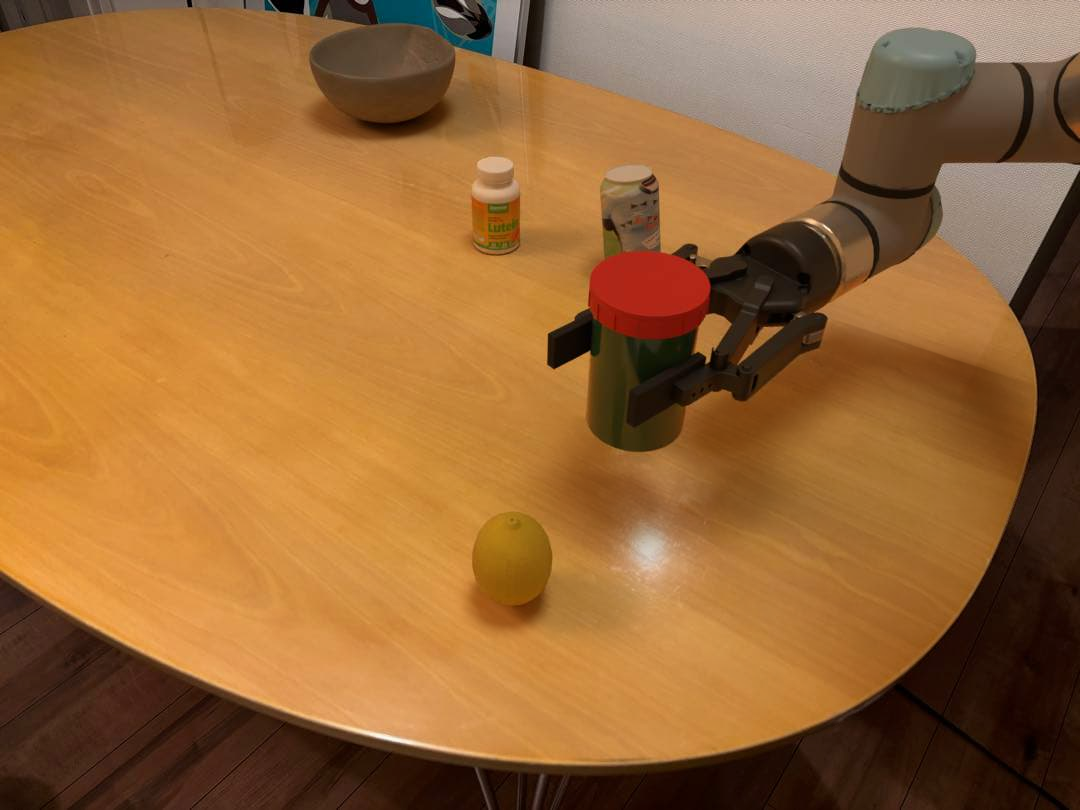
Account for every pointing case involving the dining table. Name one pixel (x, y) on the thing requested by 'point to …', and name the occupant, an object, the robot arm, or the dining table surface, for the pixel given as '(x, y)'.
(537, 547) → the lemon
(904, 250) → the robot arm
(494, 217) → the supplement bottle
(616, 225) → the beverage can
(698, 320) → the cap
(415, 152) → the dining table surface
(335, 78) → the bowl
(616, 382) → the jar
